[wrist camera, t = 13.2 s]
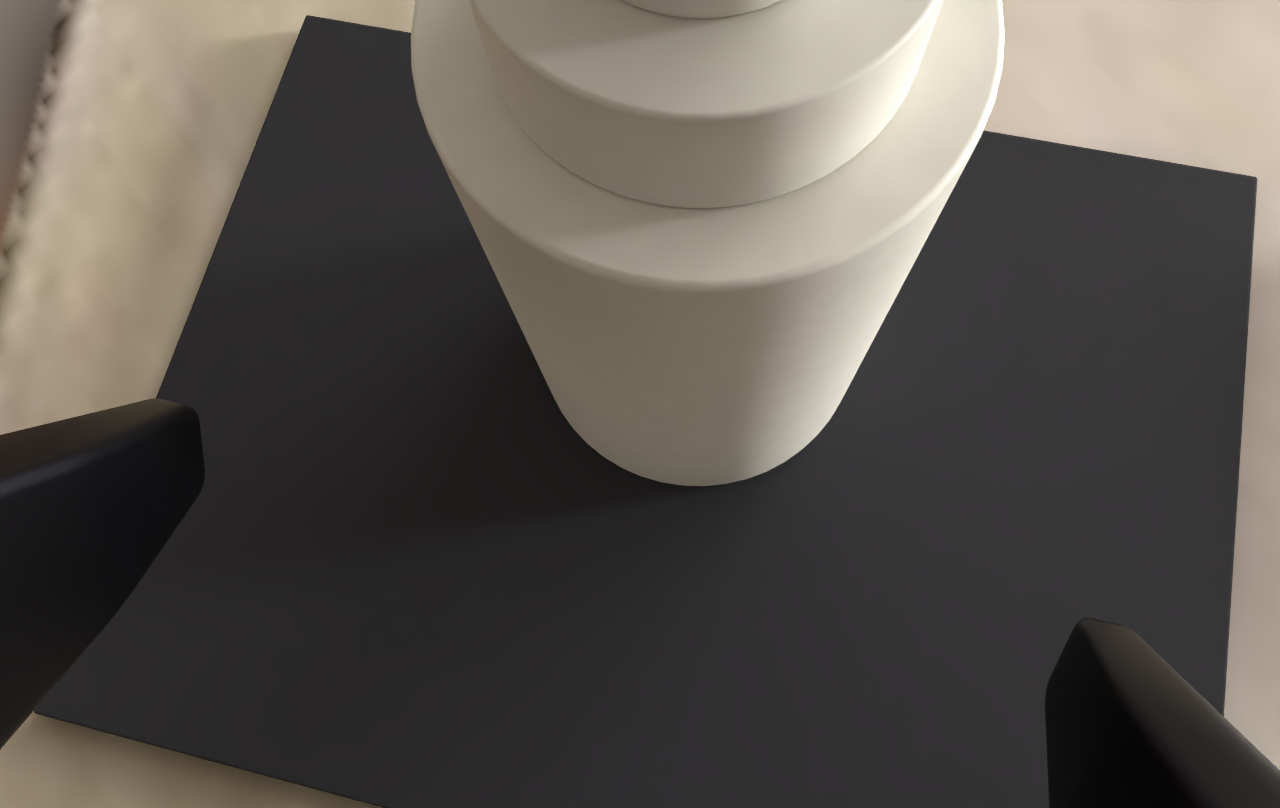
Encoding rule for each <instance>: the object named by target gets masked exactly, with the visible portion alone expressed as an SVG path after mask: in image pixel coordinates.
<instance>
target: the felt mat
mask: <svg viewBox="0 0 1280 808" xmlns="http://www.w3.org/2000/svg"><path fill="white" fill-rule="evenodd" d="M1256 191H1257V178H1256V177H1252V176H1246V175H1241V174H1235V173H1229V172H1223V171H1217V170H1211V169H1205V168H1200V167H1194V166H1188V165H1182V164H1176V163H1170V162H1164V161H1159V160H1153V159H1147V158H1141V157H1135V156H1129V155H1123V154H1117V153H1112V152H1106V151H1100V150H1094V149H1088V148H1082V147H1076V146H1071V145H1065V144H1059V143H1053V142H1047V141H1041V140H1035V139H1030V138H1024V137H1018V136H1012V135H1006V134H1000V133H994V132H989V131H983V133H982V135H981V138H980V139H979V141H978V143H977V145H976V147H975V149H974V151H973V153H972V155H971V156H970V158H969V160H968V162H967V164H966V166H965V168H964V170H963V172H962V173H961V175H960V177H959V179H958V181H957V183H956V185H955V187H954V189H953V190H952V192H951V194H950V196H949V198H948V200H947V202H946V204H945V206H944V207H943V209H942V211H941V213H940V215H939V217H938V219H937V221H936V223H935V224H934V226H933V228H932V230H931V232H930V234H929V236H928V238H927V240H926V241H925V243H924V245H923V247H922V249H921V251H920V253H919V255H918V257H917V259H916V260H915V262H914V264H913V266H912V268H911V270H910V272H909V274H908V276H907V277H906V279H905V281H904V283H903V285H902V287H901V289H900V291H899V293H898V294H897V296H896V298H895V300H894V302H893V304H892V306H891V308H890V310H889V311H888V313H887V315H886V317H885V319H884V321H883V323H882V325H881V327H880V328H879V330H878V332H877V334H876V336H875V338H874V340H873V342H872V344H871V345H870V347H869V349H868V351H867V353H866V355H865V357H864V359H863V361H862V362H861V364H860V366H859V368H858V370H857V372H856V374H855V376H854V378H853V379H852V381H851V383H850V385H849V387H848V389H847V391H846V393H845V395H844V396H843V398H842V400H841V402H840V404H839V405H838V407H837V409H836V410H835V412H834V414H833V415H832V417H831V419H830V420H829V421H828V423H827V424H826V425H825V426H824V428H823V429H822V430H821V431H820V433H819V434H818V435H817V436H816V437H815V438H814V439H813V440H812V441H811V442H810V443H809V444H808V445H806V446H805V447H804V448H803V449H802V450H801V451H799V452H798V453H797V454H795V455H794V456H792V457H791V458H790V459H788V460H787V461H785V462H784V463H782V464H780V465H778V466H776V467H774V468H772V469H771V470H769V471H767V472H764V473H762V474H759V475H756V476H754V477H751V478H748V479H745V480H741V481H736V482H732V483H728V484H721V485H711V486H682V485H676V484H670V483H663V482H659V481H655V480H652V479H649V478H645V477H642V476H639V475H637V474H635V473H632V472H630V471H628V470H626V469H623V468H621V467H620V466H618V465H616V464H615V463H613V462H611V461H610V460H608V459H606V458H605V457H603V456H602V455H601V454H600V453H598V452H597V451H596V450H595V449H593V448H592V447H591V446H590V445H588V444H587V443H586V442H585V441H584V440H583V438H582V437H581V436H580V435H579V434H578V433H577V432H576V431H575V430H574V429H573V428H572V426H571V425H570V423H569V422H568V421H567V419H566V418H565V416H564V415H563V414H562V412H561V410H560V408H559V406H558V404H557V402H556V401H555V399H554V397H553V395H552V393H551V391H550V388H549V386H548V384H547V382H546V380H545V378H544V376H543V374H542V372H541V370H540V367H539V365H538V363H537V361H536V359H535V357H534V355H533V353H532V351H531V348H530V346H529V344H528V342H527V340H526V338H525V336H524V334H523V332H522V330H521V327H520V325H519V323H518V321H517V319H516V317H515V315H514V313H513V311H512V308H511V306H510V304H509V302H508V300H507V298H506V296H505V294H504V292H503V290H502V287H501V285H500V283H499V281H498V279H497V277H496V275H495V273H494V271H493V268H492V266H491V264H490V262H489V260H488V258H487V256H486V254H485V252H484V250H483V247H482V245H481V243H480V241H479V239H478V237H477V235H476V233H475V231H474V228H473V226H472V224H471V222H470V220H469V218H468V216H467V214H466V212H465V210H464V207H463V205H462V203H461V201H460V199H459V197H458V195H457V193H456V191H455V188H454V186H453V184H452V182H451V180H450V178H449V176H448V174H447V172H446V170H445V167H444V165H443V163H442V161H441V159H440V157H439V155H438V153H437V151H436V148H435V146H434V144H433V142H432V140H431V138H430V136H429V134H428V131H427V128H426V125H425V122H424V119H423V117H422V114H421V111H420V108H419V105H418V102H417V97H416V91H415V86H414V80H413V75H412V67H411V33H408V32H402V31H396V30H391V29H385V28H379V27H373V26H367V25H361V24H355V23H350V22H344V21H338V20H332V19H326V18H320V17H314V16H309V15H307V16H306V18H305V20H304V23H303V25H302V28H301V30H300V33H299V35H298V38H297V40H296V43H295V46H294V48H293V51H292V53H291V56H290V58H289V61H288V63H287V66H286V68H285V71H284V74H283V76H282V79H281V81H280V84H279V86H278V89H277V91H276V94H275V97H274V99H273V102H272V104H271V107H270V109H269V112H268V114H267V117H266V119H265V122H264V125H263V127H262V130H261V132H260V135H259V137H258V140H257V142H256V145H255V148H254V150H253V153H252V155H251V158H250V160H249V163H248V165H247V168H246V170H245V173H244V176H243V178H242V181H241V183H240V186H239V188H238V191H237V193H236V196H235V198H234V201H233V204H232V206H231V209H230V211H229V214H228V216H227V219H226V221H225V224H224V227H223V229H222V232H221V234H220V237H219V239H218V242H217V244H216V247H215V249H214V252H213V255H212V257H211V260H210V262H209V265H208V267H207V270H206V272H205V275H204V277H203V280H202V283H201V285H200V288H199V290H198V293H197V295H196V298H195V300H194V303H193V306H192V308H191V311H190V313H189V316H188V318H187V321H186V323H185V326H184V328H183V331H182V334H181V336H180V339H179V341H178V344H177V346H176V349H175V351H174V354H173V356H172V359H171V362H170V364H169V367H168V369H167V372H166V374H165V377H164V379H163V382H162V385H161V387H160V390H159V392H158V395H157V397H156V399H163V400H167V401H171V402H176V403H180V404H184V405H188V406H190V407H192V408H193V409H194V410H195V411H196V413H197V415H198V417H199V421H200V429H201V438H202V447H203V456H204V465H205V479H204V484H203V487H202V490H201V492H200V494H199V496H198V497H197V499H196V500H195V502H194V503H193V505H192V506H191V508H190V509H189V511H188V512H187V513H186V515H185V516H184V518H183V519H182V521H181V522H180V524H179V525H178V526H177V528H176V529H175V531H174V532H173V534H172V535H171V537H170V538H169V540H168V541H167V542H166V544H165V545H164V547H163V548H162V550H161V551H160V553H159V554H158V555H157V557H156V558H155V560H154V561H153V563H152V564H151V566H150V567H149V569H148V570H147V571H146V573H145V574H144V576H143V577H142V579H141V580H140V582H139V583H138V584H137V586H136V587H135V589H134V590H133V592H132V593H131V594H130V596H129V597H128V598H127V600H126V601H125V602H124V604H123V605H122V606H121V608H120V609H119V610H118V612H117V613H116V614H115V615H114V616H113V618H112V619H111V620H110V621H109V623H108V624H107V625H106V626H105V628H104V629H103V630H102V631H101V632H100V633H99V635H98V636H97V637H96V638H95V639H94V640H93V642H92V643H91V644H90V645H89V646H88V647H87V649H86V650H85V651H84V652H83V653H82V654H81V656H80V657H79V658H78V659H77V660H76V661H75V663H74V664H73V665H72V666H71V667H70V668H69V670H68V671H67V672H66V673H65V674H64V676H63V677H62V678H61V679H60V680H59V681H58V683H57V684H56V685H55V686H54V687H53V688H52V690H51V691H50V692H49V693H48V694H47V695H46V697H45V698H44V699H43V700H42V701H41V702H40V704H39V705H38V706H37V707H36V708H35V709H34V713H36V714H39V715H43V716H47V717H50V718H54V719H58V720H61V721H65V722H69V723H73V724H76V725H80V726H84V727H87V728H91V729H95V730H98V731H102V732H106V733H109V734H113V735H117V736H121V737H124V738H128V739H132V740H135V741H139V742H143V743H146V744H150V745H154V746H158V747H161V748H165V749H169V750H172V751H176V752H180V753H183V754H187V755H191V756H195V757H198V758H202V759H206V760H209V761H213V762H217V763H220V764H224V765H228V766H232V767H235V768H239V769H243V770H246V771H250V772H254V773H257V774H261V775H265V776H269V777H272V778H276V779H280V780H283V781H287V782H291V783H294V784H298V785H302V786H305V787H309V788H313V789H317V790H320V791H324V792H328V793H331V794H335V795H339V796H342V797H346V798H350V799H354V800H357V801H361V802H365V803H368V804H372V805H376V806H379V807H383V808H1049V790H1048V767H1047V744H1046V721H1045V694H1046V689H1047V685H1048V681H1049V679H1050V676H1051V674H1052V672H1053V670H1054V668H1055V666H1056V664H1057V662H1058V659H1059V657H1060V655H1061V653H1062V651H1063V649H1064V647H1065V645H1066V643H1067V640H1068V638H1069V636H1070V634H1071V632H1072V630H1073V628H1074V626H1075V625H1076V624H1077V623H1078V622H1079V621H1080V620H1081V619H1084V618H1086V617H1091V618H1095V619H1099V620H1103V621H1108V622H1112V623H1116V624H1121V625H1125V626H1127V627H1129V628H1131V629H1132V630H1133V631H1134V632H1135V633H1136V634H1137V635H1139V636H1140V637H1141V638H1142V639H1143V640H1144V641H1145V642H1146V643H1147V644H1148V645H1149V646H1150V647H1151V648H1152V649H1153V650H1154V651H1155V652H1156V653H1157V654H1158V655H1159V656H1160V657H1162V658H1163V659H1164V660H1165V661H1166V662H1167V663H1168V664H1169V665H1170V666H1171V667H1172V668H1173V669H1174V670H1175V671H1176V672H1177V673H1178V674H1179V675H1180V676H1181V677H1182V678H1183V679H1185V680H1186V681H1187V682H1188V683H1189V684H1190V685H1191V686H1192V687H1193V688H1194V689H1195V690H1196V691H1197V692H1198V693H1199V694H1200V695H1201V696H1202V697H1203V698H1204V699H1205V700H1206V701H1208V702H1209V703H1210V704H1211V705H1212V706H1213V707H1214V708H1215V709H1216V710H1217V711H1218V712H1219V713H1220V714H1221V715H1222V716H1223V717H1224V703H1225V687H1226V671H1227V655H1228V639H1229V623H1230V607H1231V591H1232V575H1233V559H1234V543H1235V527H1236V511H1237V495H1238V479H1239V463H1240V447H1241V431H1242V415H1243V399H1244V383H1245V367H1246V351H1247V335H1248V319H1249V303H1250V287H1251V271H1252V255H1253V239H1254V223H1255V207H1256Z"/></svg>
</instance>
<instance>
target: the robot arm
mask: <svg viewBox="0 0 1280 808" xmlns="http://www.w3.org/2000/svg"><path fill="white" fill-rule="evenodd" d="M204 479H205V465H204V456H203V447H202V438H201V429H200V421H199V417H198V415H197V413H196V411H195V410H194V409H193V408H192V407H190V406H188V405H184V404H180V403H176V402H171V401H167V400H163V399H149V400H144V401H140V402H136V403H132V404H128V405H124V406H119V407H115V408H111V409H107V410H103V411H99V412H94V413H90V414H86V415H82V416H78V417H74V418H70V419H65V420H61V421H57V422H53V423H49V424H45V425H40V426H36V427H32V428H28V429H24V430H20V431H15V432H11V433H7V434H3V435H0V749H1V748H2V747H3V746H4V745H5V743H6V742H7V741H8V740H9V739H10V738H11V736H12V735H13V734H14V733H15V732H16V731H17V729H18V728H19V727H20V726H21V725H22V723H23V722H24V721H25V720H26V719H27V718H28V716H29V715H30V714H31V713H32V712H33V711H34V709H35V708H36V707H37V706H38V705H39V704H40V702H41V701H42V700H43V699H44V698H45V697H46V695H47V694H48V693H49V692H50V691H51V690H52V688H53V687H54V686H55V685H56V684H57V683H58V681H59V680H60V679H61V678H62V677H63V676H64V674H65V673H66V672H67V671H68V670H69V668H70V667H71V666H72V665H73V664H74V663H75V661H76V660H77V659H78V658H79V657H80V656H81V654H82V653H83V652H84V651H85V650H86V649H87V647H88V646H89V645H90V644H91V643H92V642H93V640H94V639H95V638H96V637H97V636H98V635H99V633H100V632H101V631H102V630H103V629H104V628H105V626H106V625H107V624H108V623H109V621H110V620H111V619H112V618H113V616H114V615H115V614H116V613H117V612H118V610H119V609H120V608H121V606H122V605H123V604H124V602H125V601H126V600H127V598H128V597H129V596H130V594H131V593H132V592H133V590H134V589H135V587H136V586H137V584H138V583H139V582H140V580H141V579H142V577H143V576H144V574H145V573H146V571H147V570H148V569H149V567H150V566H151V564H152V563H153V561H154V560H155V558H156V557H157V555H158V554H159V553H160V551H161V550H162V548H163V547H164V545H165V544H166V542H167V541H168V540H169V538H170V537H171V535H172V534H173V532H174V531H175V529H176V528H177V526H178V525H179V524H180V522H181V521H182V519H183V518H184V516H185V515H186V513H187V512H188V511H189V509H190V508H191V506H192V505H193V503H194V502H195V500H196V499H197V497H198V496H199V494H200V492H201V490H202V487H203V484H204ZM1045 721H1046V744H1047V767H1048V790H1049V808H1280V770H1279V769H1278V768H1277V767H1276V766H1274V765H1273V764H1272V763H1271V762H1270V761H1269V760H1268V759H1267V758H1266V757H1265V756H1264V755H1263V754H1262V753H1261V752H1260V751H1259V750H1258V749H1257V748H1256V747H1255V746H1254V745H1253V744H1251V743H1250V742H1249V741H1248V740H1247V739H1246V738H1245V737H1244V736H1243V735H1242V734H1241V733H1240V732H1239V731H1238V730H1237V729H1236V728H1235V727H1234V726H1233V725H1232V724H1231V723H1230V722H1228V721H1227V720H1226V719H1225V718H1224V717H1223V716H1222V715H1221V714H1220V713H1219V712H1218V711H1217V710H1216V709H1215V708H1214V707H1213V706H1212V705H1211V704H1210V703H1209V702H1208V701H1206V700H1205V699H1204V698H1203V697H1202V696H1201V695H1200V694H1199V693H1198V692H1197V691H1196V690H1195V689H1194V688H1193V687H1192V686H1191V685H1190V684H1189V683H1188V682H1187V681H1186V680H1185V679H1183V678H1182V677H1181V676H1180V675H1179V674H1178V673H1177V672H1176V671H1175V670H1174V669H1173V668H1172V667H1171V666H1170V665H1169V664H1168V663H1167V662H1166V661H1165V660H1164V659H1163V658H1162V657H1160V656H1159V655H1158V654H1157V653H1156V652H1155V651H1154V650H1153V649H1152V648H1151V647H1150V646H1149V645H1148V644H1147V643H1146V642H1145V641H1144V640H1143V639H1142V638H1141V637H1140V636H1139V635H1137V634H1136V633H1135V632H1134V631H1133V630H1132V629H1131V628H1129V627H1127V626H1125V625H1121V624H1116V623H1112V622H1108V621H1103V620H1099V619H1095V618H1091V617H1086V618H1084V619H1081V620H1080V621H1079V622H1078V623H1077V624H1076V625H1075V626H1074V628H1073V630H1072V632H1071V634H1070V636H1069V638H1068V640H1067V643H1066V645H1065V647H1064V649H1063V651H1062V653H1061V655H1060V657H1059V659H1058V662H1057V664H1056V666H1055V668H1054V670H1053V672H1052V674H1051V676H1050V679H1049V681H1048V685H1047V689H1046V694H1045Z"/></svg>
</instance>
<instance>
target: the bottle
mask: <svg viewBox="0 0 1280 808" xmlns="http://www.w3.org/2000/svg"><path fill="white" fill-rule="evenodd" d="M1004 42H1005V33H1004V21H1003V8H1002V0H416V2H415V8H414V16H413V24H412V31H411V67H412V75H413V80H414V86H415V91H416V97H417V102H418V105H419V108H420V111H421V114H422V117H423V119H424V122H425V125H426V128H427V131H428V134H429V136H430V138H431V140H432V142H433V144H434V146H435V148H436V151H437V153H438V155H439V157H440V159H441V161H442V163H443V165H444V167H445V170H446V172H447V174H448V176H449V178H450V180H451V182H452V184H453V186H454V188H455V191H456V193H457V195H458V197H459V199H460V201H461V203H462V205H463V207H464V210H465V212H466V214H467V216H468V218H469V220H470V222H471V224H472V226H473V228H474V231H475V233H476V235H477V237H478V239H479V241H480V243H481V245H482V247H483V250H484V252H485V254H486V256H487V258H488V260H489V262H490V264H491V266H492V268H493V271H494V273H495V275H496V277H497V279H498V281H499V283H500V285H501V287H502V290H503V292H504V294H505V296H506V298H507V300H508V302H509V304H510V306H511V308H512V311H513V313H514V315H515V317H516V319H517V321H518V323H519V325H520V327H521V330H522V332H523V334H524V336H525V338H526V340H527V342H528V344H529V346H530V348H531V351H532V353H533V355H534V357H535V359H536V361H537V363H538V365H539V367H540V370H541V372H542V374H543V376H544V378H545V380H546V382H547V384H548V386H549V388H550V391H551V393H552V395H553V397H554V399H555V401H556V402H557V404H558V406H559V408H560V410H561V412H562V414H563V415H564V416H565V418H566V419H567V421H568V422H569V423H570V425H571V426H572V428H573V429H574V430H575V431H576V432H577V433H578V434H579V435H580V436H581V437H582V438H583V440H584V441H585V442H586V443H587V444H588V445H590V446H591V447H592V448H593V449H595V450H596V451H597V452H598V453H600V454H601V455H602V456H603V457H605V458H606V459H608V460H610V461H611V462H613V463H615V464H616V465H618V466H620V467H621V468H623V469H626V470H628V471H630V472H632V473H635V474H637V475H639V476H642V477H645V478H649V479H652V480H655V481H659V482H663V483H670V484H676V485H682V486H711V485H721V484H728V483H732V482H736V481H741V480H745V479H748V478H751V477H754V476H756V475H759V474H762V473H764V472H767V471H769V470H771V469H772V468H774V467H776V466H778V465H780V464H782V463H784V462H785V461H787V460H788V459H790V458H791V457H792V456H794V455H795V454H797V453H798V452H799V451H801V450H802V449H803V448H804V447H805V446H806V445H808V444H809V443H810V442H811V441H812V440H813V439H814V438H815V437H816V436H817V435H818V434H819V433H820V431H821V430H822V429H823V428H824V426H825V425H826V424H827V423H828V421H829V420H830V419H831V417H832V415H833V414H834V412H835V410H836V409H837V407H838V405H839V404H840V402H841V400H842V398H843V396H844V395H845V393H846V391H847V389H848V387H849V385H850V383H851V381H852V379H853V378H854V376H855V374H856V372H857V370H858V368H859V366H860V364H861V362H862V361H863V359H864V357H865V355H866V353H867V351H868V349H869V347H870V345H871V344H872V342H873V340H874V338H875V336H876V334H877V332H878V330H879V328H880V327H881V325H882V323H883V321H884V319H885V317H886V315H887V313H888V311H889V310H890V308H891V306H892V304H893V302H894V300H895V298H896V296H897V294H898V293H899V291H900V289H901V287H902V285H903V283H904V281H905V279H906V277H907V276H908V274H909V272H910V270H911V268H912V266H913V264H914V262H915V260H916V259H917V257H918V255H919V253H920V251H921V249H922V247H923V245H924V243H925V241H926V240H927V238H928V236H929V234H930V232H931V230H932V228H933V226H934V224H935V223H936V221H937V219H938V217H939V215H940V213H941V211H942V209H943V207H944V206H945V204H946V202H947V200H948V198H949V196H950V194H951V192H952V190H953V189H954V187H955V185H956V183H957V181H958V179H959V177H960V175H961V173H962V172H963V170H964V168H965V166H966V164H967V162H968V160H969V158H970V156H971V155H972V153H973V151H974V149H975V147H976V145H977V143H978V141H979V139H980V138H981V135H982V133H983V130H984V128H985V126H986V123H987V121H988V118H989V116H990V113H991V111H992V109H993V106H994V103H995V99H996V95H997V91H998V87H999V82H1000V78H1001V74H1002V68H1003V55H1004Z"/></svg>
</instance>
